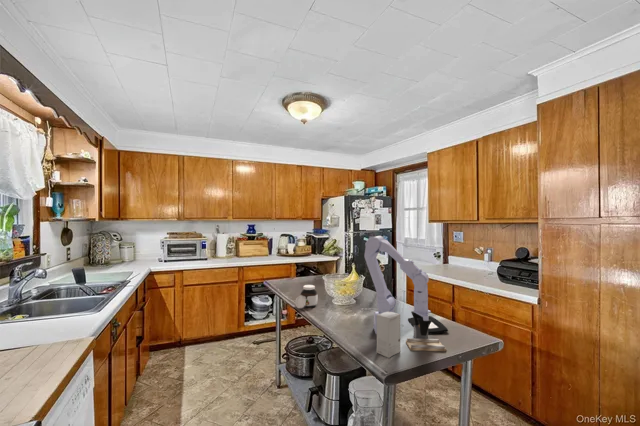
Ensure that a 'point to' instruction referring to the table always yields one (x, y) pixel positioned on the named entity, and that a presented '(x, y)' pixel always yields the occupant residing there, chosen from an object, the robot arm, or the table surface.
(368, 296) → the table surface
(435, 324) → the black picture frame
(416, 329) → the module
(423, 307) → the robot arm
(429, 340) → the rail board
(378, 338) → the skincare box
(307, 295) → the spread jar
